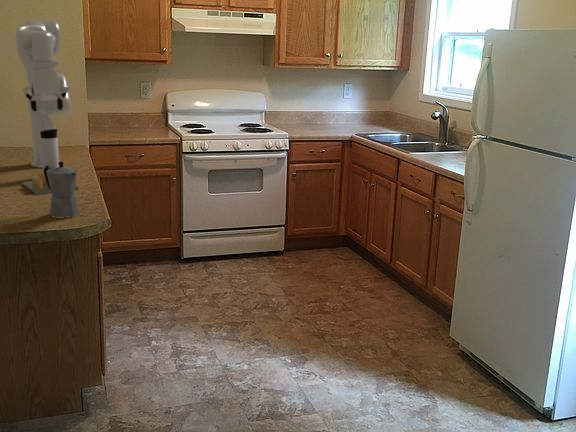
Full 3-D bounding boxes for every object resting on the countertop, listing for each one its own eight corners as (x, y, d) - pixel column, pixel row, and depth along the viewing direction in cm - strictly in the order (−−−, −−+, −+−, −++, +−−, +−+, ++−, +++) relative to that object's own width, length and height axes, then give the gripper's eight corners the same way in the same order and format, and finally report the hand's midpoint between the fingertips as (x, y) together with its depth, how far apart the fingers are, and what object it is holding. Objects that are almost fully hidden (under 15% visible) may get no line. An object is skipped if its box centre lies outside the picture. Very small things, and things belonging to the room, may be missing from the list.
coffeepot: (89, 215, 210) (86, 162, 205) (66, 221, 203) (62, 167, 197) (59, 206, 218) (55, 155, 213) (35, 212, 211) (31, 159, 205)
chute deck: (22, 184, 244) (21, 172, 243) (64, 179, 254) (63, 167, 252) (35, 194, 231) (34, 181, 230) (78, 189, 241) (77, 176, 239)
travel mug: (55, 180, 252) (51, 130, 246) (40, 179, 253) (36, 129, 248) (64, 176, 258) (60, 128, 252) (49, 175, 259) (45, 127, 253)
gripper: (63, 64, 250) (66, 108, 255) (17, 65, 240) (21, 110, 245) (69, 65, 245) (72, 110, 250) (23, 66, 235) (27, 112, 240)
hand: (47, 110), depth 248 cm, fingers open, 9 cm apart
